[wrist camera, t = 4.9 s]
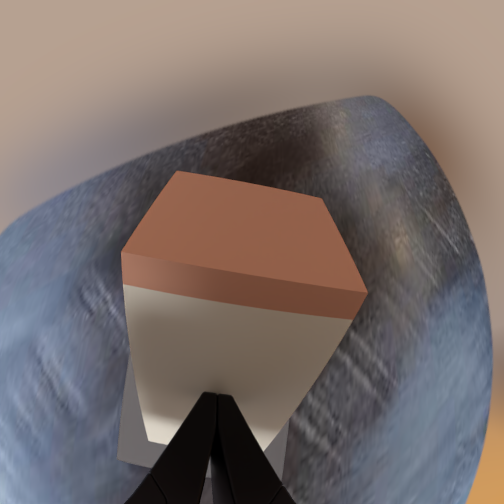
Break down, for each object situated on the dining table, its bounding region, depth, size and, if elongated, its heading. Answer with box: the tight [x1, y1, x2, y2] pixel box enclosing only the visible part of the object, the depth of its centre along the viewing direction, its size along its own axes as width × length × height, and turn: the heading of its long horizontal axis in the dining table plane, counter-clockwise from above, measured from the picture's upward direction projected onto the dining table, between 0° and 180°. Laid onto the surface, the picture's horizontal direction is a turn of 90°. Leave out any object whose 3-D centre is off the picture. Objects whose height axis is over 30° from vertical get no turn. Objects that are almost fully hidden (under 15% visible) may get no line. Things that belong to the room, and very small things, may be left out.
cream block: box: [121, 171, 368, 452], centre depth 10 cm, size 5×5×10 cm
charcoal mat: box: [117, 351, 289, 481], centre depth 16 cm, size 17×9×1 cm, turn 174°
